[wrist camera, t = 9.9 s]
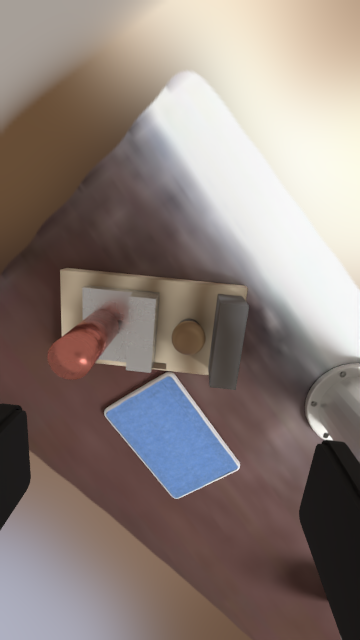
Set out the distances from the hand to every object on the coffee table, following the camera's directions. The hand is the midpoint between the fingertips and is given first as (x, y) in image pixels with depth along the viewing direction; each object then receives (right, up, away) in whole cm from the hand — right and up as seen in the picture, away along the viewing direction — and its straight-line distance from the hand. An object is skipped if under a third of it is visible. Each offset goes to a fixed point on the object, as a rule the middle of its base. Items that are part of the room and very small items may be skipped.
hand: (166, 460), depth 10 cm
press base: (-3, +4, +31) cm, 31 cm away
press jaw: (-7, +4, +28) cm, 30 cm away
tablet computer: (-1, -13, +36) cm, 39 cm away
